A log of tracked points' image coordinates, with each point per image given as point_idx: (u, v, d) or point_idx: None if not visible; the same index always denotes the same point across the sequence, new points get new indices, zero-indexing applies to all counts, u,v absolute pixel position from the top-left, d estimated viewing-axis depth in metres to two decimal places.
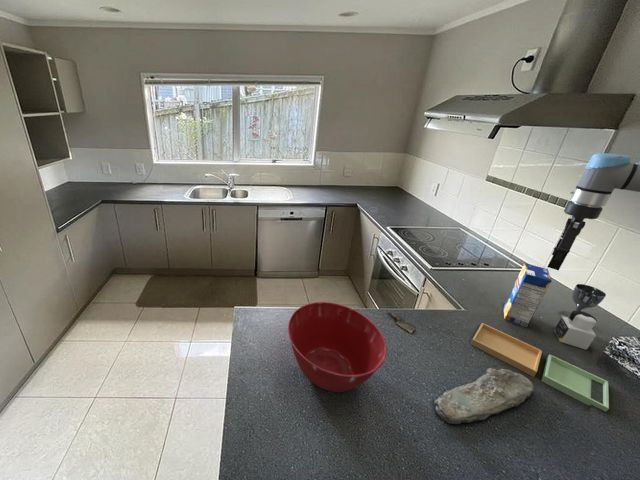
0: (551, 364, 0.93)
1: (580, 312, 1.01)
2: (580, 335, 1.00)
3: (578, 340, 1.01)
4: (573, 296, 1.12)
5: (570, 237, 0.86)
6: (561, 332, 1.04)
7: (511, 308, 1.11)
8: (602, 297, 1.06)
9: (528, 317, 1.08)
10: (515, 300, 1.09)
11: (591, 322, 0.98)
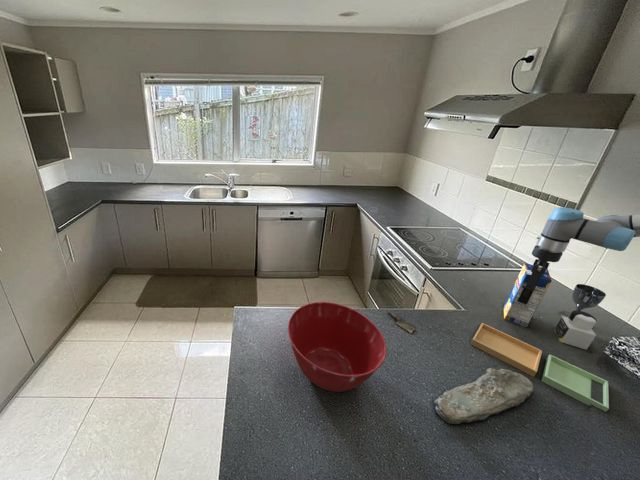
0: (551, 364, 0.93)
1: (580, 312, 1.01)
2: (580, 335, 1.00)
3: (578, 340, 1.01)
4: (573, 296, 1.12)
5: (535, 278, 1.02)
6: (561, 332, 1.04)
7: (511, 308, 1.11)
8: (602, 297, 1.06)
9: (528, 317, 1.08)
10: (515, 300, 1.10)
11: (591, 322, 0.98)
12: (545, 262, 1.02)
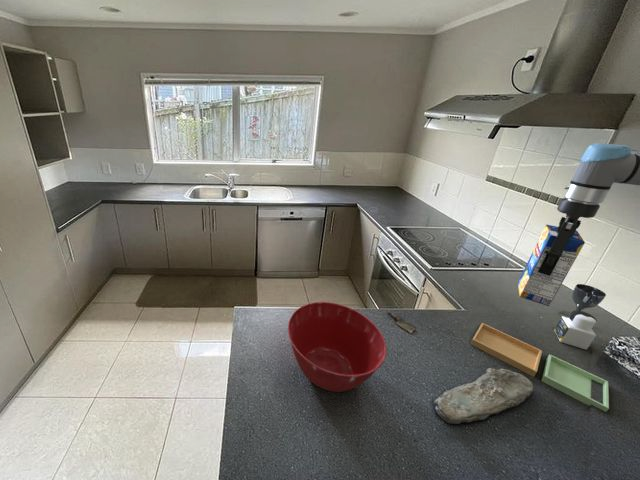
0: (551, 364, 0.93)
1: (580, 312, 1.01)
2: (580, 335, 1.00)
3: (578, 340, 1.01)
4: (573, 296, 1.12)
5: (562, 239, 0.78)
6: (561, 332, 1.04)
7: (529, 282, 0.87)
8: (602, 297, 1.06)
9: (551, 292, 0.84)
10: (534, 271, 0.85)
11: (591, 322, 0.98)
12: (576, 218, 0.77)
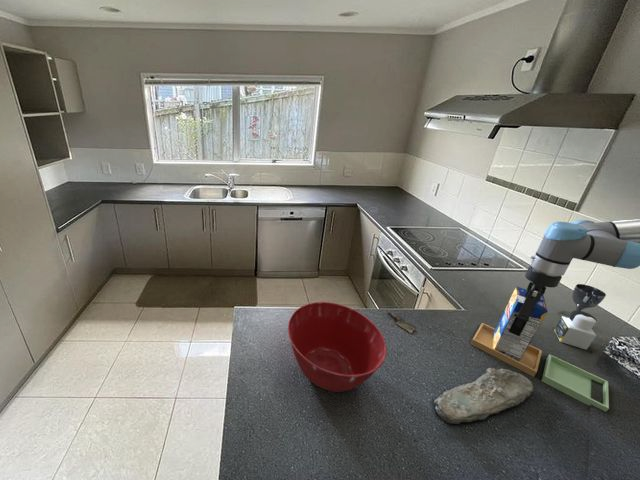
0: (551, 364, 0.93)
1: (580, 312, 1.01)
2: (580, 335, 1.00)
3: (578, 340, 1.01)
4: (573, 296, 1.12)
5: (529, 306, 0.85)
6: (561, 332, 1.04)
7: (500, 340, 0.94)
8: (602, 297, 1.06)
9: (520, 352, 0.92)
10: (505, 331, 0.93)
11: (591, 322, 0.98)
12: (541, 287, 0.85)
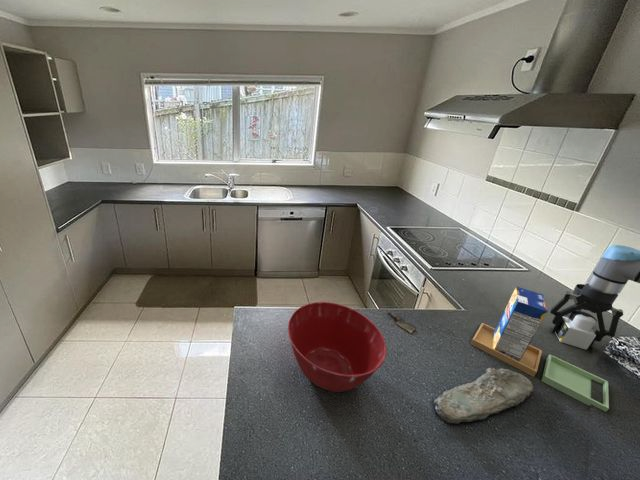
0: (551, 364, 0.93)
1: (580, 312, 1.01)
2: (580, 335, 1.00)
3: (578, 340, 1.01)
4: None
5: (558, 302, 1.04)
6: (561, 332, 1.04)
7: (500, 340, 0.94)
8: None
9: (520, 352, 0.92)
10: (505, 331, 0.93)
11: (591, 322, 0.98)
12: (580, 294, 0.99)
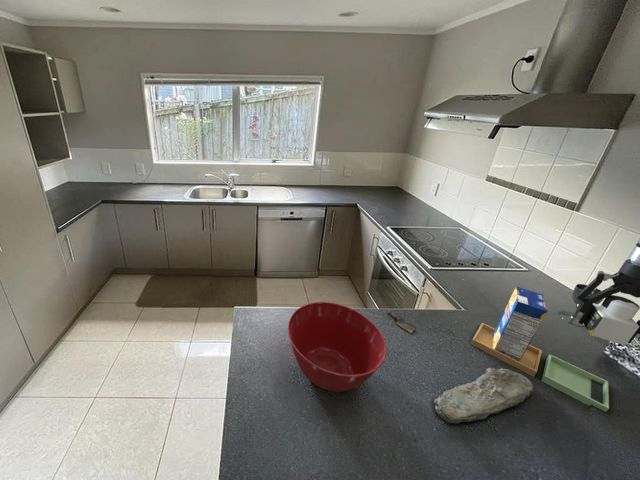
0: (551, 364, 0.93)
1: (617, 297, 0.79)
2: (618, 326, 0.78)
3: (614, 333, 0.78)
4: (573, 296, 1.12)
5: (588, 285, 0.82)
6: (591, 322, 0.82)
7: (500, 340, 0.94)
8: None
9: (520, 352, 0.92)
10: (505, 331, 0.93)
11: (633, 309, 0.76)
12: (618, 273, 0.77)
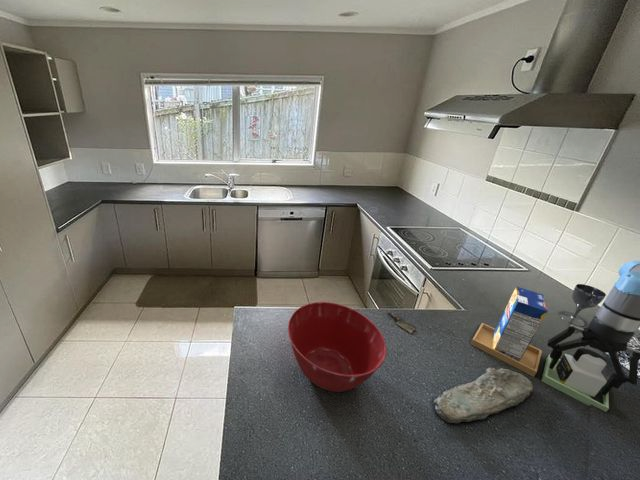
0: None
1: (587, 351, 0.84)
2: (587, 380, 0.82)
3: (584, 385, 0.83)
4: (573, 296, 1.12)
5: (559, 335, 0.87)
6: (563, 373, 0.87)
7: (500, 340, 0.94)
8: (602, 297, 1.06)
9: (520, 352, 0.92)
10: (505, 331, 0.93)
11: (600, 365, 0.80)
12: (587, 329, 0.82)
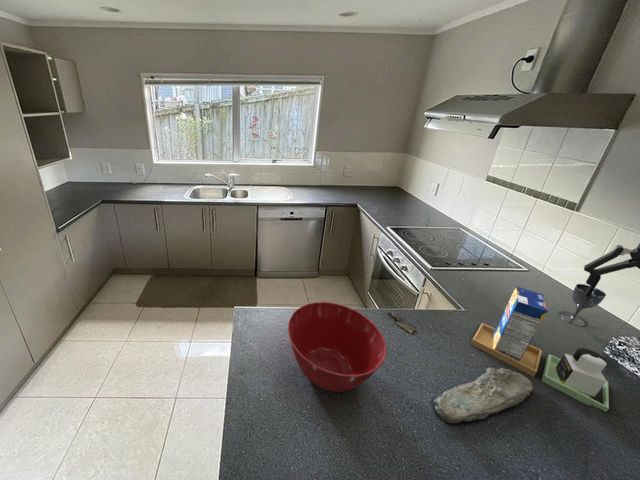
0: (551, 364, 0.93)
1: (587, 351, 0.84)
2: (587, 380, 0.82)
3: (584, 385, 0.83)
4: (573, 296, 1.12)
5: (601, 258, 0.79)
6: (563, 373, 0.87)
7: (500, 340, 0.94)
8: (602, 297, 1.06)
9: (520, 352, 0.92)
10: (505, 331, 0.93)
11: (600, 365, 0.80)
12: (637, 249, 0.73)
